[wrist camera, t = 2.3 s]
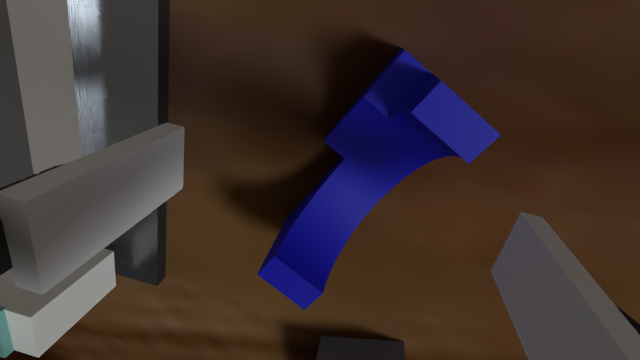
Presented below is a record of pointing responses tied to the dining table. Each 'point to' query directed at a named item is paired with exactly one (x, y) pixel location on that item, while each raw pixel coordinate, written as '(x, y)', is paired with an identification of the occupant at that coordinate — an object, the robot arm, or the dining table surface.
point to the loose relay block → (359, 349)
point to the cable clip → (371, 168)
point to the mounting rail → (85, 96)
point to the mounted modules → (51, 306)
